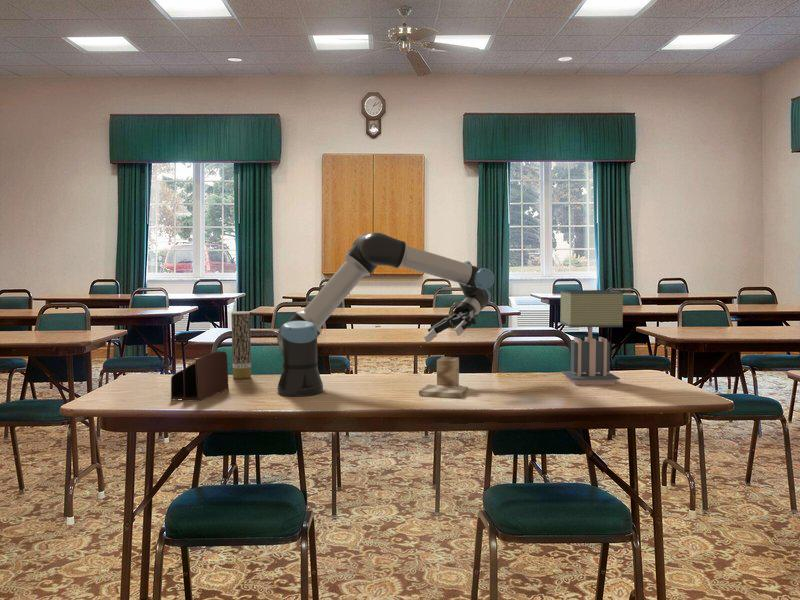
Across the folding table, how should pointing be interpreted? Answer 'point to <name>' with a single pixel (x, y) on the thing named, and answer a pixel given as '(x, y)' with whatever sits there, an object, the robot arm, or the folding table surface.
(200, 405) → the folding table surface
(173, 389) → the letter holder
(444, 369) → the block
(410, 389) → the folding table surface
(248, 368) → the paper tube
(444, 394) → the board
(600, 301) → the desk lamp
